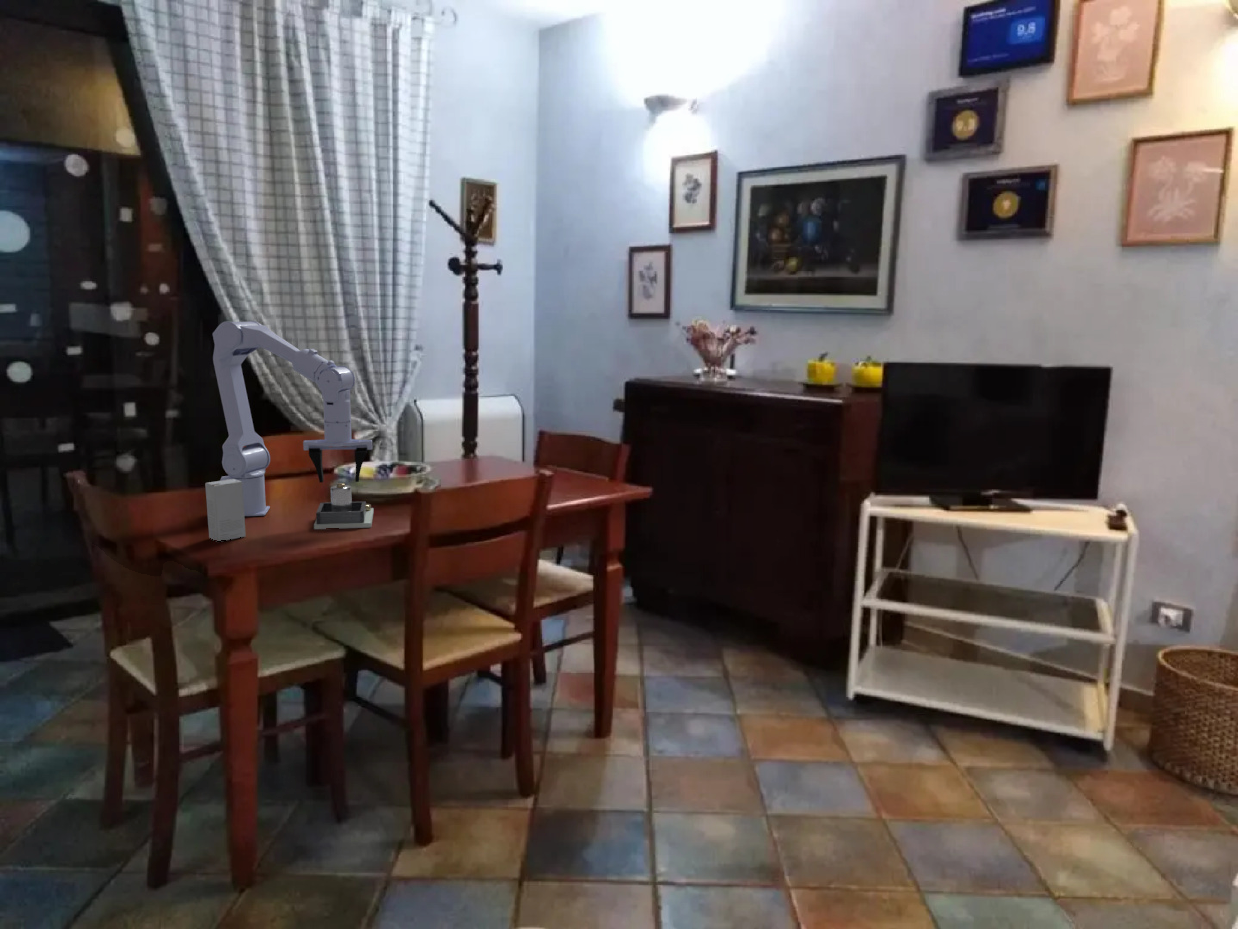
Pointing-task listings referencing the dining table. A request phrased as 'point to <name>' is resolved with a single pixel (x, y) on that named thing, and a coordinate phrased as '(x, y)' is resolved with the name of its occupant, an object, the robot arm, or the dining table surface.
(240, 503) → the skincare box
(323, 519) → the box
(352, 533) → the dining table surface
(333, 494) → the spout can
